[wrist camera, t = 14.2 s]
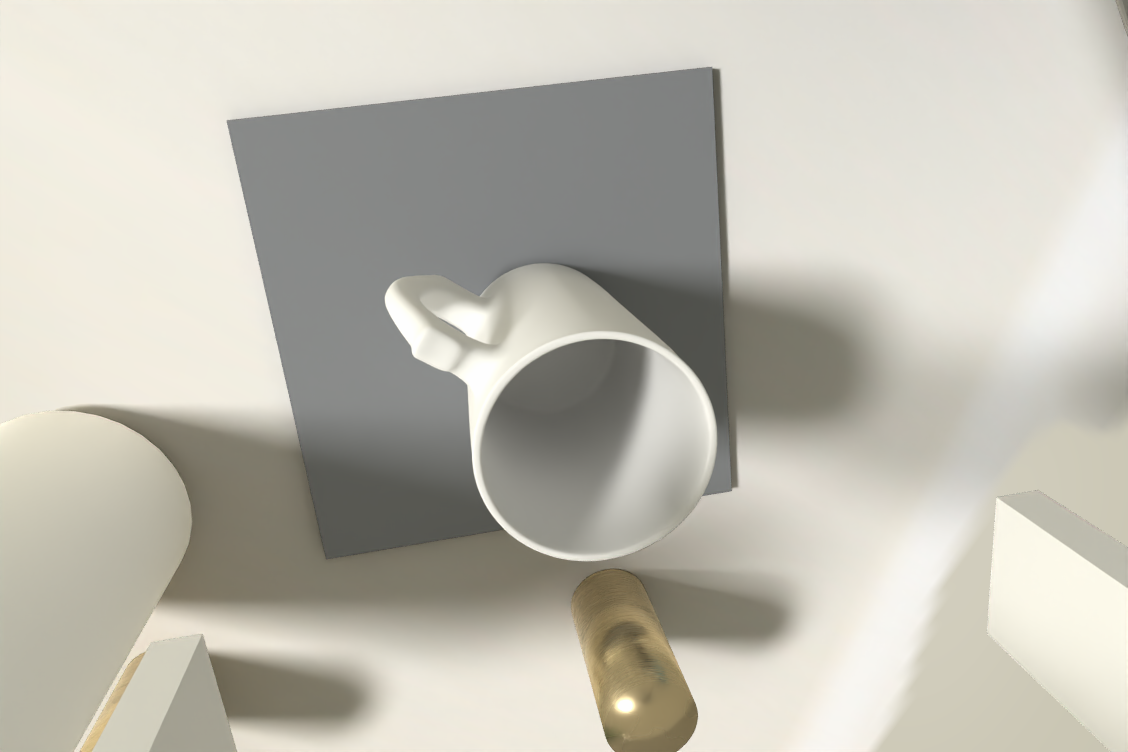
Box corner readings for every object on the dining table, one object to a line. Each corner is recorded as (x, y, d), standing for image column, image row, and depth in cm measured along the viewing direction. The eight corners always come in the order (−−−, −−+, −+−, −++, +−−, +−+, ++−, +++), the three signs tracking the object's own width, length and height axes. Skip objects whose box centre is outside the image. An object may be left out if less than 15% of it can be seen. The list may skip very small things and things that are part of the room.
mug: (654, 311, 34) (765, 410, 23) (566, 442, 35) (629, 599, 24) (442, 176, 31) (449, 211, 20) (354, 324, 32) (312, 437, 21)
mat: (708, 67, 32) (712, 66, 31) (728, 486, 38) (731, 491, 37) (229, 120, 30) (226, 120, 29) (327, 553, 36) (326, 559, 35)
